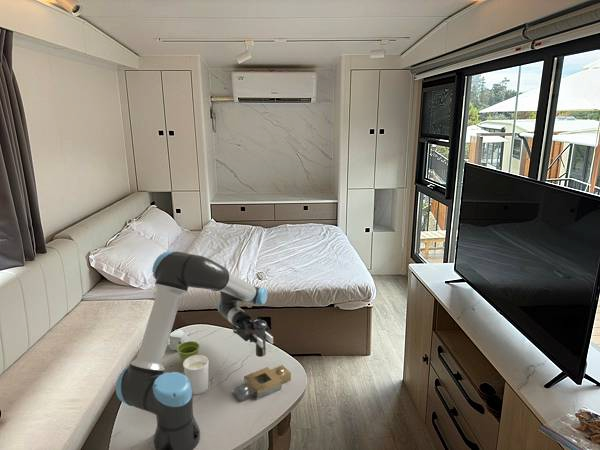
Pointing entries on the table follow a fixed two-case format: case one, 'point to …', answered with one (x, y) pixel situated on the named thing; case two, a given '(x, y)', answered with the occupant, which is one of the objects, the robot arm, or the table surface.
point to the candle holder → (197, 373)
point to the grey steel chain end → (247, 392)
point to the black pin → (260, 336)
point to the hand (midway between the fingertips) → (267, 342)
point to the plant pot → (187, 350)
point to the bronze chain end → (274, 376)
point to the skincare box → (177, 338)
